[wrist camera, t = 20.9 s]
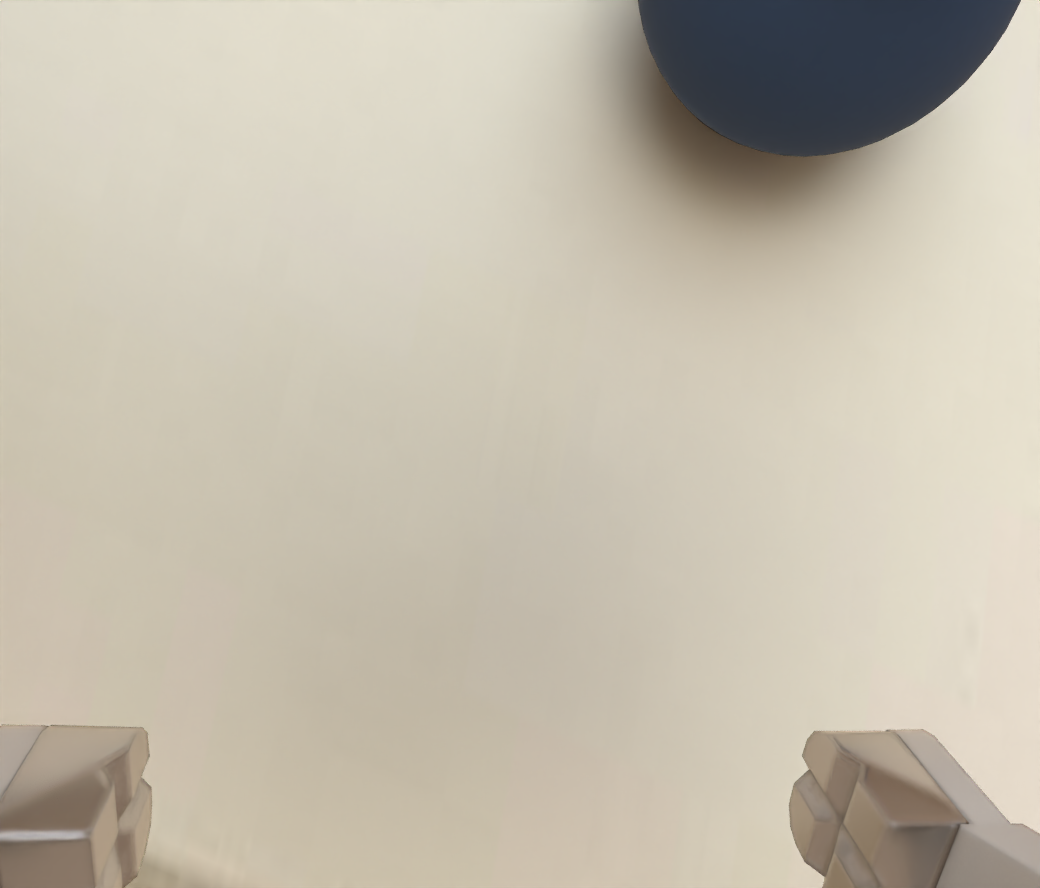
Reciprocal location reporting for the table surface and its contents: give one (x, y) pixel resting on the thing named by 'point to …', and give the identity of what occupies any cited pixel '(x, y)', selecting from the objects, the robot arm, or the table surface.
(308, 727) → the table surface
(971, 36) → the ball
